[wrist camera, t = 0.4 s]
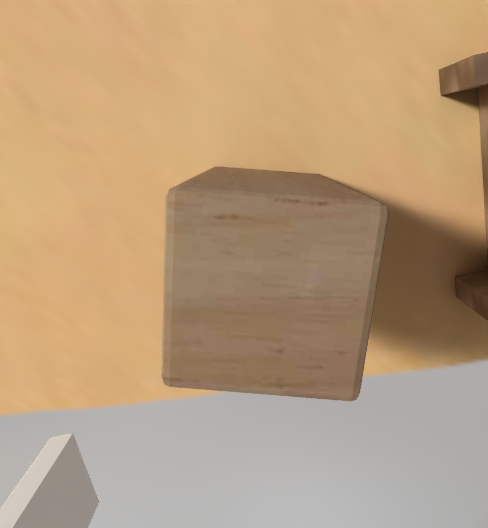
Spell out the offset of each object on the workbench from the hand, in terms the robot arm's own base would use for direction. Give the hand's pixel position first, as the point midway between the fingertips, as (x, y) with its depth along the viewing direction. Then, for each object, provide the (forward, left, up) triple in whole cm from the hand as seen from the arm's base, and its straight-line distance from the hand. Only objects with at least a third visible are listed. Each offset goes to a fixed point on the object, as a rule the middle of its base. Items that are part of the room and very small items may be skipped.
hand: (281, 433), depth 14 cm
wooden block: (-2, 0, -28) cm, 28 cm away
